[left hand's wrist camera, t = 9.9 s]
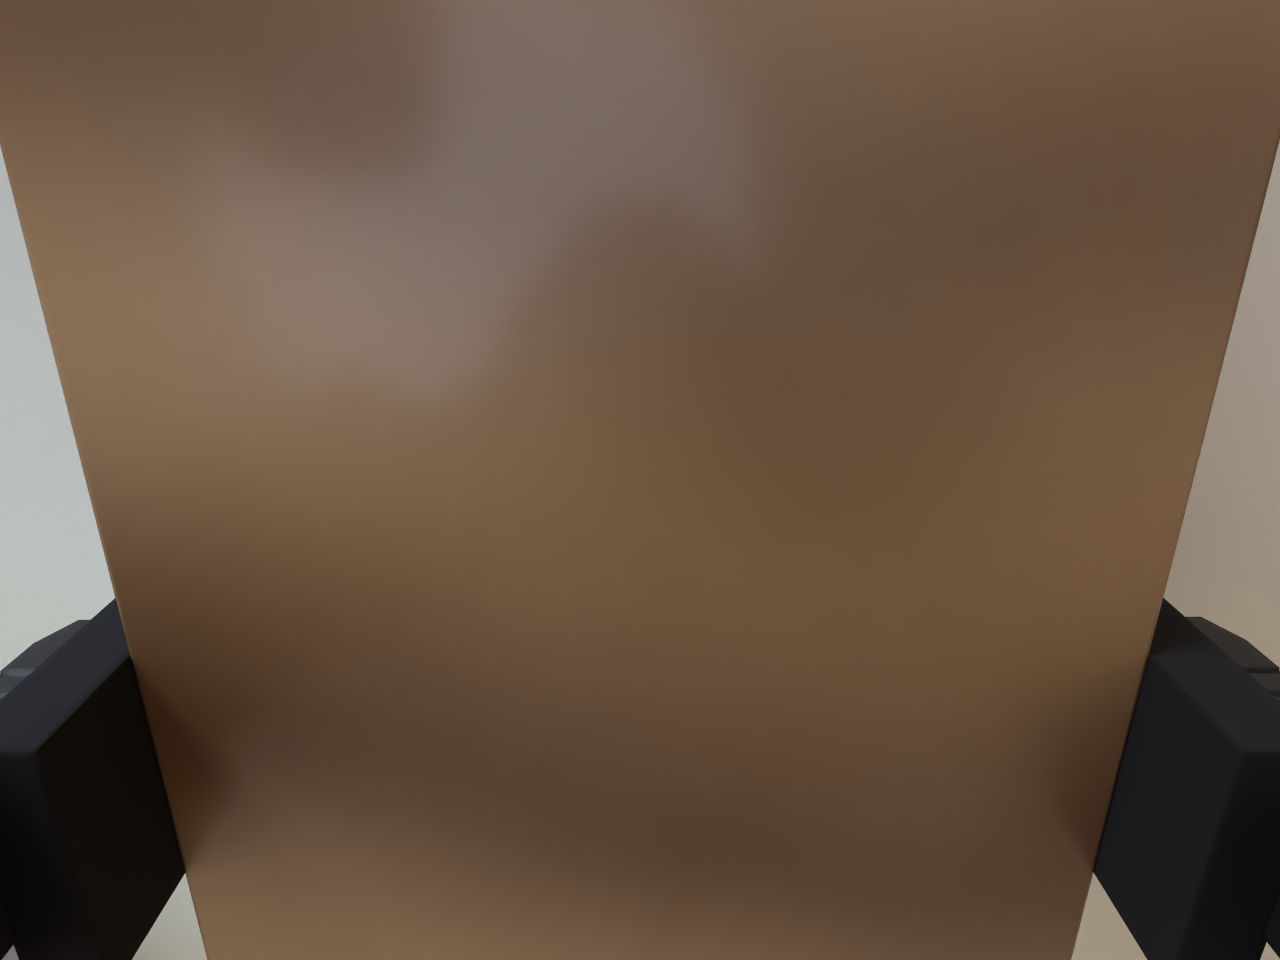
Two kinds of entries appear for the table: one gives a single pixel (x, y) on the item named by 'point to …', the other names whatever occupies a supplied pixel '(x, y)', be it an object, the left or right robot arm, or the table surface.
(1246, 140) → the wooden rectangular block
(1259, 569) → the table surface
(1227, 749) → the left robot arm
